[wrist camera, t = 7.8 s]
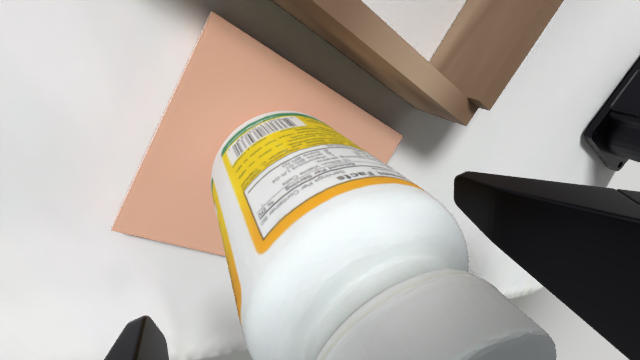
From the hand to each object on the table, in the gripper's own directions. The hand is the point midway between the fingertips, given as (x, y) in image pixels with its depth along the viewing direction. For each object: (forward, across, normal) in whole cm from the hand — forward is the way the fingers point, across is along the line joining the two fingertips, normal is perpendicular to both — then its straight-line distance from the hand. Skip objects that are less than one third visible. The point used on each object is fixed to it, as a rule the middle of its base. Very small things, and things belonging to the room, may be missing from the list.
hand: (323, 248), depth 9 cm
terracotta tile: (+5, 0, 0) cm, 5 cm away
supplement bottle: (+5, 0, 0) cm, 5 cm away
